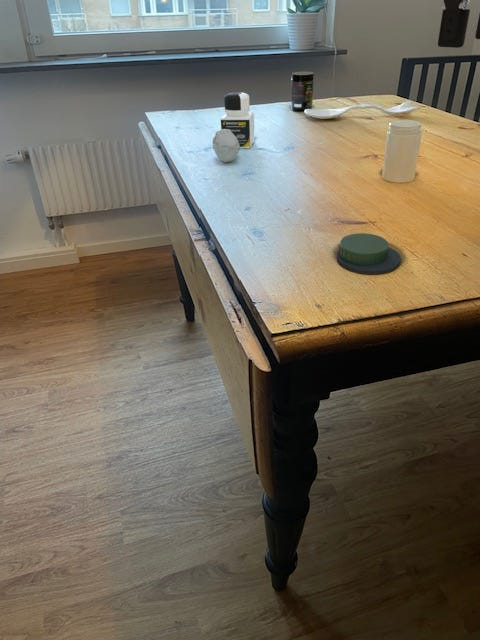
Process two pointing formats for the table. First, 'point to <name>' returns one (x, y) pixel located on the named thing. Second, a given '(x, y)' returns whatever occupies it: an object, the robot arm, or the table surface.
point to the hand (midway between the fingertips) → (469, 42)
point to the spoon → (333, 113)
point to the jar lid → (363, 249)
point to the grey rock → (225, 145)
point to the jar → (401, 151)
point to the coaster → (380, 268)
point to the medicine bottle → (239, 118)
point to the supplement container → (302, 91)
